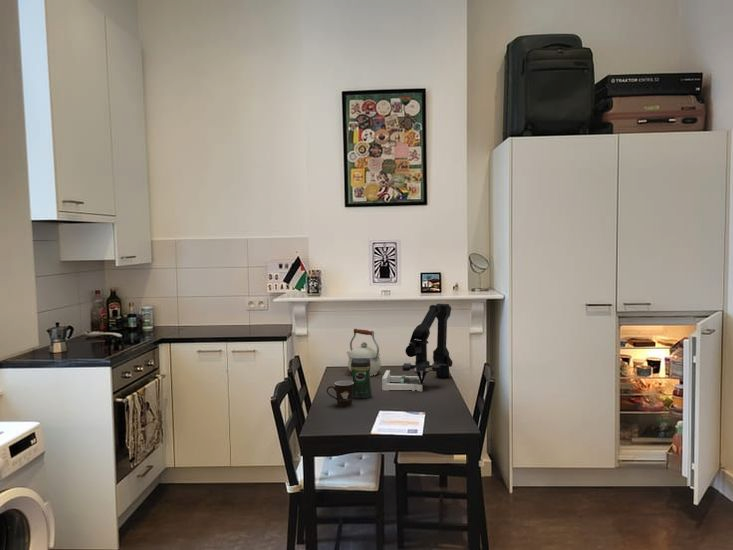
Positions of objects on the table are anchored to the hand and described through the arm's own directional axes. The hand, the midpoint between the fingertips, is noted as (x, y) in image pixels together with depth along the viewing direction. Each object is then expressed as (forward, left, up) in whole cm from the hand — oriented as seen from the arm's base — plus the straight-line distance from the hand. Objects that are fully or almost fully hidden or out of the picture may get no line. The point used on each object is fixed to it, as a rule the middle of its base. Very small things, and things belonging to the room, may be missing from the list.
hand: (421, 383), depth 270 cm
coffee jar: (+28, +20, -2) cm, 34 cm away
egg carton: (+5, 0, -2) cm, 5 cm away
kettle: (+35, -25, -2) cm, 43 cm away
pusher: (+10, 0, -1) cm, 10 cm away
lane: (+10, 0, -1) cm, 10 cm away
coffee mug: (+35, +33, -2) cm, 48 cm away
